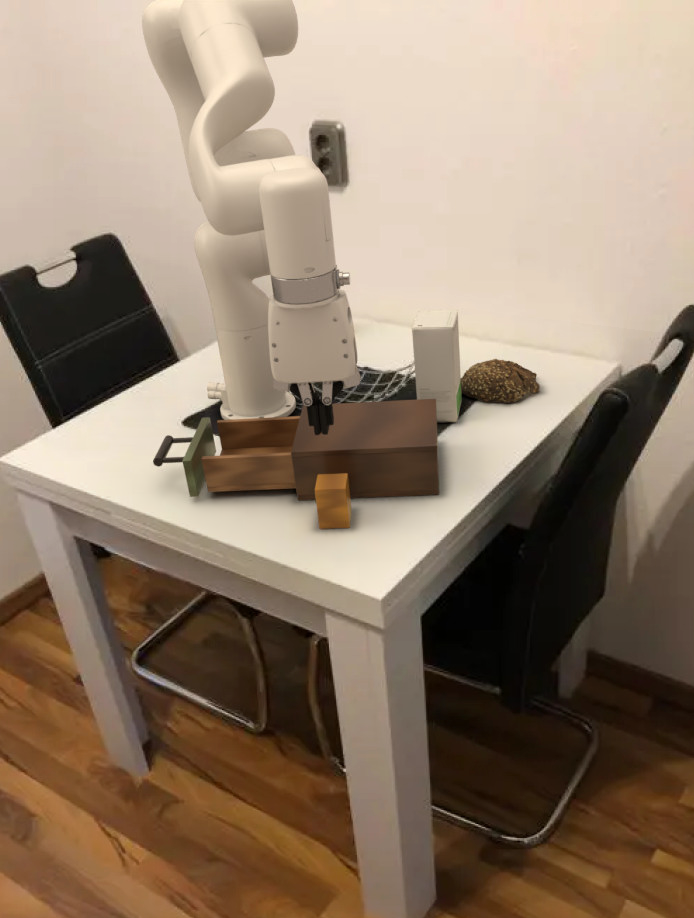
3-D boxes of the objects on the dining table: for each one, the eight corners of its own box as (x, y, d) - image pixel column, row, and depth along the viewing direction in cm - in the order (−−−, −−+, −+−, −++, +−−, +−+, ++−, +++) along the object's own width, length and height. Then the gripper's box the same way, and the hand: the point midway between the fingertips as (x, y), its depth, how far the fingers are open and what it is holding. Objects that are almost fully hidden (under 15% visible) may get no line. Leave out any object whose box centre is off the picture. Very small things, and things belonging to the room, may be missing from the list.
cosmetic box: (456, 423, 141) (454, 328, 133) (414, 423, 143) (409, 328, 134) (462, 400, 148) (460, 308, 140) (422, 400, 150) (417, 308, 141)
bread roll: (447, 393, 151) (446, 365, 148) (490, 367, 158) (490, 340, 155) (512, 411, 143) (512, 382, 141) (554, 383, 151) (555, 355, 148)
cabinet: (297, 500, 126) (290, 452, 122) (308, 450, 138) (303, 405, 134) (439, 494, 124) (437, 445, 120) (437, 444, 136) (436, 398, 132)
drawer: (153, 498, 128) (144, 462, 125) (174, 453, 139) (167, 419, 136) (320, 491, 126) (315, 454, 123) (328, 446, 137) (324, 411, 134)
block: (319, 529, 120) (314, 489, 116) (322, 512, 123) (317, 474, 120) (349, 527, 119) (345, 488, 116) (351, 511, 122) (347, 473, 119)
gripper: (372, 271, 106) (383, 414, 116) (246, 279, 108) (268, 419, 118) (368, 292, 100) (380, 441, 110) (235, 300, 101) (259, 446, 111)
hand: (322, 429), depth 114 cm, fingers closed
